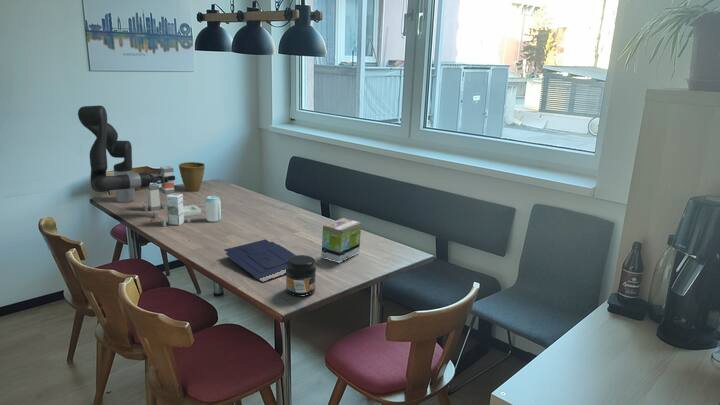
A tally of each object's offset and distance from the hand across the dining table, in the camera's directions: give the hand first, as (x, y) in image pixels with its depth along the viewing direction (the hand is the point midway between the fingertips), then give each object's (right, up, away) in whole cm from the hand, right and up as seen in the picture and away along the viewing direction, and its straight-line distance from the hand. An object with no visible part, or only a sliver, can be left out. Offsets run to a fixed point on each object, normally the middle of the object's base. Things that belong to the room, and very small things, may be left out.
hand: (172, 176), depth 257 cm
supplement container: (+73, -45, -74) cm, 113 cm away
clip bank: (-6, -20, +1) cm, 21 cm away
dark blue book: (+56, -38, -51) cm, 85 cm away
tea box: (+86, -36, -40) cm, 101 cm away
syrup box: (+5, -23, -8) cm, 25 cm away
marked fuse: (-2, -8, 0) cm, 8 cm away
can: (+21, -22, -1) cm, 30 cm away
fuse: (-14, -16, +12) cm, 25 cm away
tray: (+5, -19, +8) cm, 21 cm away
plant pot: (-7, -6, +53) cm, 54 cm away
